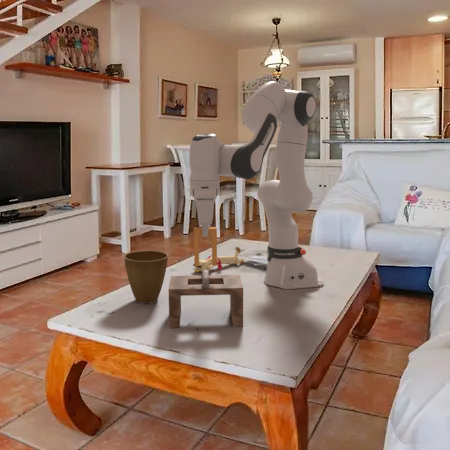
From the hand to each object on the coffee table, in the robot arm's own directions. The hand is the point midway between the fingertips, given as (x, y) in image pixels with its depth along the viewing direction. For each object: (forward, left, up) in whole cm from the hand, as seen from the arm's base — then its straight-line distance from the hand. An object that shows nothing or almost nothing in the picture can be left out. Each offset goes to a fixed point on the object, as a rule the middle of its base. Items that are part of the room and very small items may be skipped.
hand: (205, 234), depth 156 cm
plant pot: (+20, -19, -27) cm, 39 cm away
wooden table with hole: (0, 0, -27) cm, 27 cm away
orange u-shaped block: (0, 0, -9) cm, 9 cm away
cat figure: (-6, -59, -27) cm, 65 cm away
